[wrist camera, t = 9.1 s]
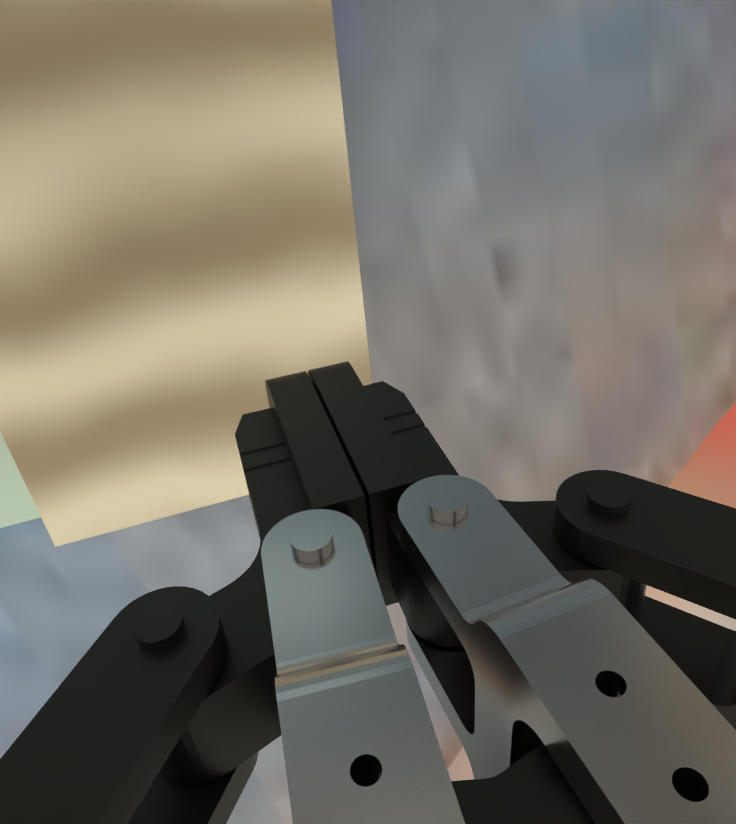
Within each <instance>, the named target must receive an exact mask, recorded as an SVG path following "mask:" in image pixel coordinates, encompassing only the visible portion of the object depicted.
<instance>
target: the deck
mask: <svg viewBox="0 0 736 824" xmlns="http://www.w3.org/2000/svg"><path fill="white" fill-rule="evenodd" d="M346 361H348V362H349V363H350V364H351V366H352V367H353V369H354V371H355V372H356V374H357V376H358V377H359V379H360V381H361V383H362V384H363V386H365V385H369V384H372V380H371V371H370V361H369V352H368V342H367V333H366V323H365V314H364V304H363V295H362V286H361V276H360V267H359V257H358V248H357V238H356V229H355V219H354V210H353V200H352V191H351V181H350V172H349V163H348V153H347V144H346V134H345V125H344V115H343V106H342V96H341V87H340V77H339V68H338V58H337V49H336V40H335V30H334V21H333V11H332V2H331V0H0V432H1V434H2V436H3V438H4V440H5V442H6V444H7V446H8V449H9V451H10V453H11V455H12V457H13V459H14V461H15V463H16V465H17V467H18V469H19V472H20V474H21V476H22V478H23V480H24V482H25V484H26V486H27V488H28V490H29V492H30V495H31V497H32V499H33V501H34V503H35V505H36V507H37V509H38V511H39V513H40V515H41V518H42V520H43V522H44V524H45V526H46V528H47V530H48V532H49V534H50V536H51V538H52V541H53V543H54V545H55V547H56V546H60V545H64V544H68V543H71V542H75V541H79V540H82V539H86V538H90V537H93V536H97V535H101V534H105V533H108V532H112V531H116V530H119V529H123V528H127V527H130V526H134V525H138V524H142V523H145V522H149V521H153V520H156V519H160V518H164V517H167V516H171V515H175V514H178V513H182V512H186V511H190V510H193V509H197V508H201V507H204V506H208V505H212V504H215V503H219V502H223V501H227V500H230V499H234V498H238V497H241V496H245V495H249V492H248V488H247V484H246V480H245V475H244V471H243V467H242V463H241V459H240V454H239V450H238V446H237V442H236V438H235V432H236V430H237V427H238V425H239V422H240V420H241V417H242V415H243V414H247V413H251V412H255V411H260V410H264V409H268V408H270V407H269V402H268V397H267V392H266V386H265V380H268V379H272V378H277V377H281V376H285V375H290V374H294V373H299V372H303V371H306V372H307V374H308V370H311V369H315V368H320V367H324V366H329V365H333V364H337V363H342V362H346Z"/></svg>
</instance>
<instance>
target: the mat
mask: <svg viewBox="0 0 736 824" xmlns="http://www.w3.org/2000/svg"><path fill="white" fill-rule="evenodd" d="M40 517H41V515H40V513H39V511H38V509H37V507H36V505H35V503H34V501H33V499H32V497H31V495H30V492H29V490H28V488H27V486H26V484H25V482H24V480H23V478H22V476H21V474H20V472H19V469H18V467H17V465H16V463H15V461H14V459H13V457H12V455H11V453H10V451H9V449H8V446H7V444H6V442H5V440H4V438H3V436H2V434H1V432H0V528H2V527H6V526H10V525H14V524H17V523H21V522H25V521H29V520H33V519H37V518H40Z"/></svg>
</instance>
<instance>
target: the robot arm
mask: <svg viewBox="0 0 736 824" xmlns="http://www.w3.org/2000/svg"><path fill="white" fill-rule="evenodd" d="M265 386H266V392H267V397H268V402H269V407H270V408H268V409H264V410H260V411H255V412H251V413H247V414H243V415H242V417H241V420H240V422H239V425H238V427H237V430H236V432H235V438H236V442H237V446H238V450H239V454H240V459H241V463H242V467H243V471H244V475H245V480H246V484H247V488H248V492H249V496H250V501H251V505H252V509H253V512H254V516H255V520H256V524H257V528H258V532H259V536H260V540H261V541H260V548H259V551H258V554H257V556H256V558H255V560H254V561H253V563H252V564H251V566H250V567H249V568H248V569H247V570H246V571H245V572H244V574H242V575H241V576H240V577H239V578H238V579H236V580H235V581H234V582H232V583H230V584H229V585H227V586H226V587H224V588H222V589H221V590H219V591H217V592H215V593H214V594H212V595H210V596H208V595H206V594H205V593H203V592H201V591H199V590H197V589H194V588H189V587H177V586H175V587H166V588H162V589H158V590H155V591H152V592H149V593H147V594H145V595H143V596H141V597H139V598H137V599H136V600H134V601H133V602H131V603H130V604H128V605H127V606H126V607H125V608H124V609H122V610H121V611H120V612H119V614H118V615H117V616H116V617H115V618H114V619H113V620H112V622H111V623H110V624H109V625H108V627H107V628H106V629H105V630H104V631H103V633H102V634H101V635H100V636H99V638H98V639H97V640H96V641H95V643H94V644H93V645H92V646H91V648H90V649H89V650H88V651H87V653H86V654H85V655H84V656H83V657H82V659H81V660H80V661H79V662H78V664H77V665H76V666H75V667H74V669H73V670H72V671H71V672H70V674H69V675H68V676H67V677H66V679H65V680H64V681H63V682H62V683H61V685H60V686H59V687H58V688H57V690H56V691H55V692H54V693H53V695H52V696H51V697H50V698H49V700H48V701H47V702H46V703H45V705H44V706H43V707H42V708H41V709H40V711H39V712H38V713H37V714H36V716H35V717H34V718H33V719H32V721H31V722H30V723H29V724H28V726H27V727H26V728H25V729H24V730H23V732H22V733H21V734H20V735H19V737H18V738H17V739H16V740H15V742H14V743H13V744H12V745H11V747H10V748H9V749H8V750H7V752H6V753H5V754H4V755H3V756H2V758H1V759H0V824H226V823H227V821H228V819H229V817H230V815H231V813H232V811H233V809H234V807H235V805H236V803H237V801H238V799H239V797H240V795H241V793H242V791H243V789H244V787H245V785H246V783H247V781H248V779H249V777H250V775H251V773H252V771H253V769H254V766H255V764H256V761H257V757H258V751H260V750H261V749H262V748H264V747H265V746H267V745H268V744H269V743H271V742H272V741H273V740H275V739H276V738H278V737H279V736H280V735H281V736H282V743H283V751H284V758H285V766H286V774H287V781H288V789H289V796H290V804H291V811H292V819H293V824H736V631H733V630H731V629H727V628H725V627H722V626H720V625H718V624H715V623H713V622H710V621H707V620H705V619H702V618H700V617H697V616H695V615H692V614H690V613H687V612H684V611H682V610H679V609H677V608H675V607H672V606H670V605H667V604H664V603H662V602H659V601H657V600H654V599H652V598H649V597H647V596H644V595H645V590H646V586H647V585H648V586H651V587H653V588H656V589H659V590H661V591H664V592H667V593H669V594H672V595H674V596H677V597H680V598H682V599H685V600H687V601H690V602H692V603H695V604H698V605H700V606H703V607H705V608H708V609H710V610H713V611H716V612H718V613H721V614H723V615H726V616H729V617H731V618H734V619H736V509H735V508H732V507H729V506H726V505H723V504H719V503H716V502H713V501H709V500H706V499H703V498H700V497H697V496H693V495H691V494H687V493H684V492H680V491H678V490H675V489H671V488H668V487H665V486H662V485H659V484H655V483H652V482H649V481H646V480H643V479H639V478H636V477H633V476H630V475H627V474H623V473H619V472H615V471H608V470H591V471H585V472H581V473H578V474H575V475H573V476H571V477H569V478H568V479H566V480H565V481H564V482H563V483H562V484H561V485H560V487H559V489H558V491H557V495H556V501H529V502H511V501H503V500H498V499H496V498H495V496H494V495H493V494H492V493H491V492H490V491H489V490H488V489H487V488H486V487H485V486H483V485H482V484H480V483H479V482H477V481H475V480H472V479H469V478H466V477H462V476H459V475H458V473H457V472H456V470H455V469H454V467H453V466H452V464H451V463H450V461H449V460H448V458H447V457H446V455H445V454H444V452H443V451H442V449H441V448H440V446H439V445H438V443H437V442H436V440H435V439H434V437H433V436H432V434H431V433H430V431H429V430H428V428H427V427H426V428H425V425H424V423H423V421H422V420H421V418H420V417H419V415H418V414H416V412H415V409H414V408H413V406H412V405H411V403H410V402H409V400H408V399H407V397H406V396H405V394H404V393H402V392H401V391H399V390H397V389H396V388H394V387H392V386H390V385H389V384H387V383H385V382H383V381H382V382H378V383H373V384H369V385H365V386H363V384H362V383H361V381H360V379H359V377H358V376H357V374H356V372H355V371H354V369H353V367H352V366H351V364H350V363H349V362H348V361H346V362H342V363H337V364H333V365H329V366H324V367H320V368H315V369H311V370H308V374H307V372H306V371H303V372H299V373H294V374H290V375H285V376H281V377H277V378H272V379H268V380H265ZM397 602H399V604H400V606H401V608H402V610H403V613H404V615H405V617H406V627H407V638H408V643H409V645H410V647H411V650H412V651H413V653H414V655H415V657H416V659H417V661H418V663H419V664H420V666H421V668H422V670H423V672H424V674H425V676H426V678H427V679H428V681H429V683H430V685H431V687H432V689H433V691H434V692H435V694H436V696H437V698H438V700H439V702H440V704H441V705H442V707H443V709H444V711H445V713H446V715H447V717H448V719H449V720H450V722H451V724H452V726H453V728H454V730H455V732H456V733H457V735H458V737H459V739H460V741H461V743H462V745H463V747H464V749H465V751H466V753H467V756H468V758H469V761H470V764H471V767H472V771H473V775H474V780H462V781H451V779H450V776H449V773H448V770H447V767H446V764H445V761H444V758H443V755H442V752H441V749H440V746H439V743H438V740H437V737H436V734H435V731H434V728H433V725H432V722H431V719H430V716H429V713H428V709H427V706H426V703H425V700H424V697H423V694H422V691H421V688H420V685H419V682H418V679H417V676H416V673H415V670H414V667H413V664H412V661H411V659H410V656H409V653H408V651H407V649H406V647H405V646H404V645H399V644H398V642H397V639H396V636H395V633H394V630H393V627H392V624H391V621H390V618H389V614H388V611H387V608H386V606H387V605H390V604H393V603H397Z"/></svg>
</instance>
